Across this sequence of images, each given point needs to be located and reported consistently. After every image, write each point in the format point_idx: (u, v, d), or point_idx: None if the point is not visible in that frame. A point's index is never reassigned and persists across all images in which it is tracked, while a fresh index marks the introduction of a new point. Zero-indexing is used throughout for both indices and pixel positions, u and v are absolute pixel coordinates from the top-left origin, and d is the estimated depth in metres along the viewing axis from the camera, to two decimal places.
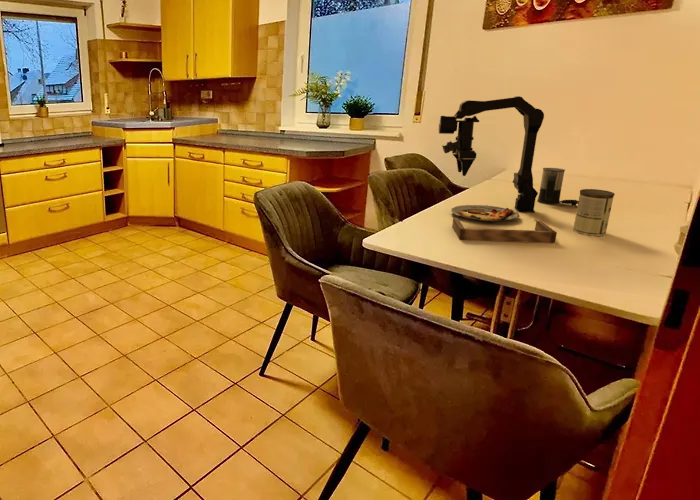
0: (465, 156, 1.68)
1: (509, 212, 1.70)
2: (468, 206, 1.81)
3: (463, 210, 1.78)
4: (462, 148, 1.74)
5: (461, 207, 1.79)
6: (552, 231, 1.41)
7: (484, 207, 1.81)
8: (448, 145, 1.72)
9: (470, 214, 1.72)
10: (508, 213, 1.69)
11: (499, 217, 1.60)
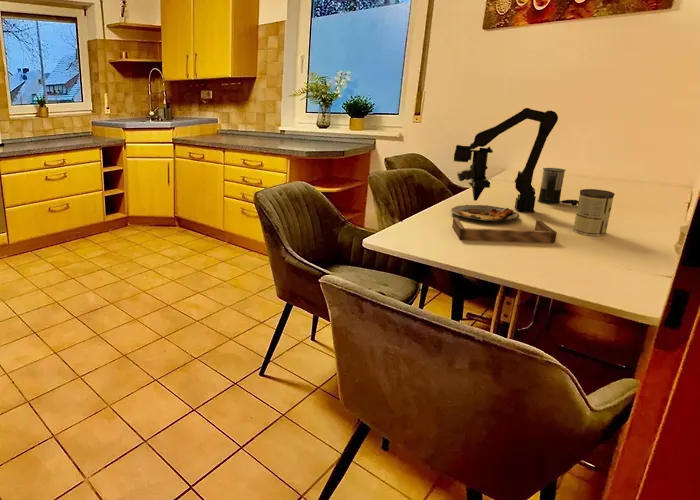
0: (479, 185, 1.76)
1: (509, 212, 1.70)
2: (468, 206, 1.81)
3: (463, 210, 1.78)
4: (476, 177, 1.82)
5: (461, 207, 1.79)
6: (552, 231, 1.41)
7: (484, 207, 1.81)
8: (463, 174, 1.80)
9: (470, 214, 1.71)
10: (508, 213, 1.69)
11: (499, 217, 1.60)
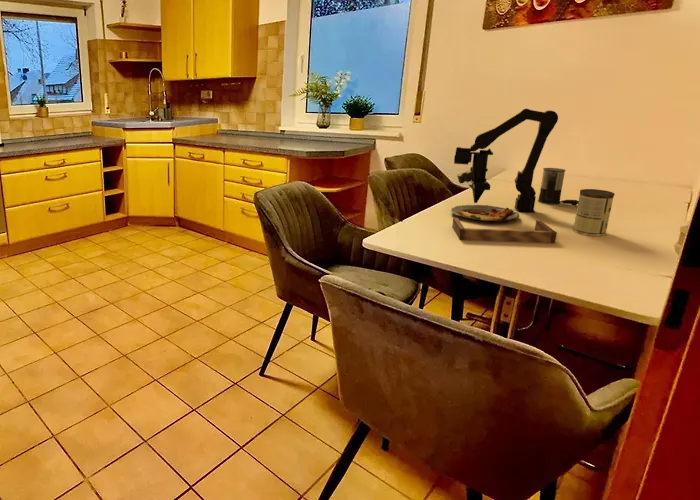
0: (479, 187, 1.76)
1: (509, 212, 1.70)
2: (468, 206, 1.81)
3: (463, 210, 1.78)
4: (476, 179, 1.81)
5: (461, 207, 1.79)
6: (552, 231, 1.41)
7: (484, 207, 1.81)
8: (463, 176, 1.79)
9: (470, 214, 1.71)
10: (508, 213, 1.69)
11: (499, 217, 1.60)
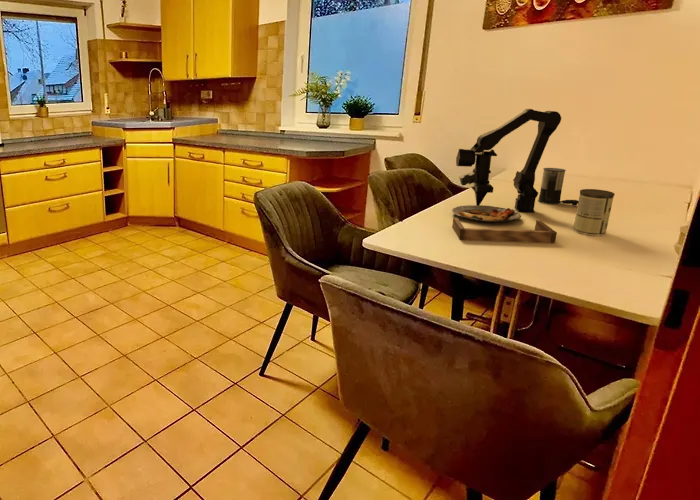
0: (482, 190, 1.71)
1: (510, 212, 1.69)
2: (469, 206, 1.80)
3: (464, 210, 1.76)
4: (479, 181, 1.76)
5: (462, 207, 1.78)
6: (552, 231, 1.41)
7: (485, 207, 1.80)
8: (465, 178, 1.75)
9: (471, 214, 1.70)
10: (509, 213, 1.68)
11: (501, 217, 1.59)
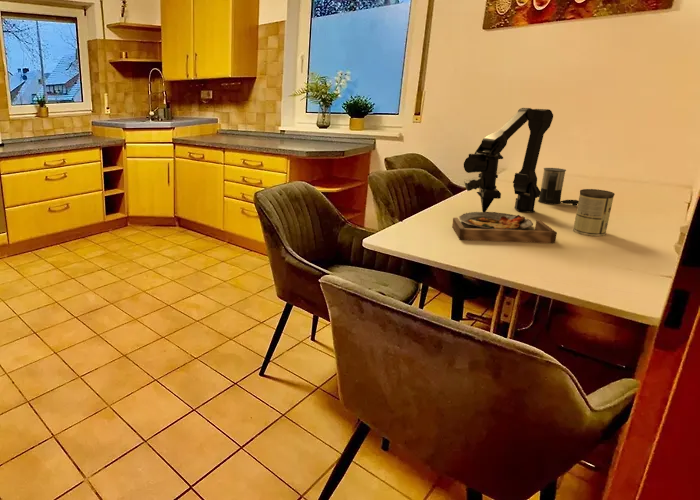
0: (489, 196, 1.61)
1: (521, 219, 1.59)
2: (475, 213, 1.70)
3: (471, 218, 1.66)
4: (485, 186, 1.66)
5: (468, 215, 1.67)
6: (552, 231, 1.41)
7: (491, 214, 1.70)
8: (471, 183, 1.64)
9: (480, 222, 1.60)
10: (520, 220, 1.59)
11: (514, 226, 1.49)
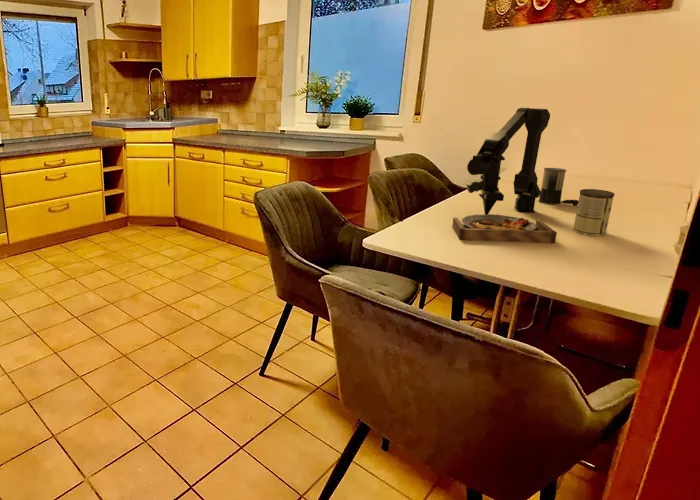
0: (492, 198, 1.57)
1: (525, 222, 1.56)
2: (477, 216, 1.66)
3: (473, 221, 1.62)
4: (488, 188, 1.63)
5: (470, 217, 1.64)
6: (552, 231, 1.41)
7: (494, 217, 1.67)
8: (473, 185, 1.61)
9: (483, 225, 1.56)
10: (524, 223, 1.56)
11: (518, 229, 1.46)
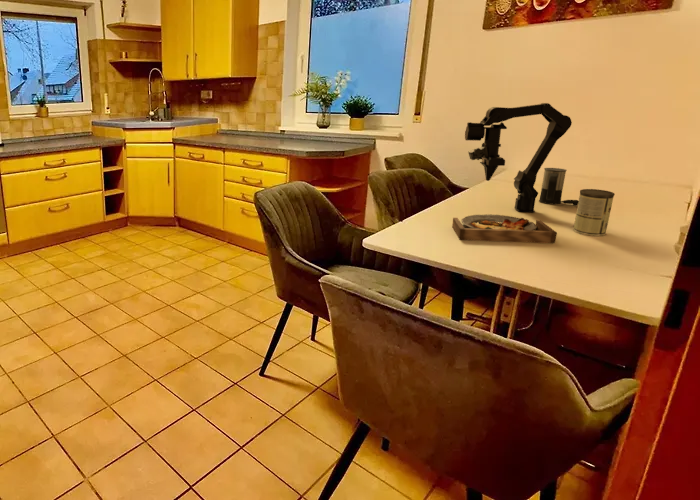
0: (494, 163, 1.67)
1: (525, 222, 1.56)
2: (477, 216, 1.66)
3: (473, 221, 1.62)
4: (489, 155, 1.73)
5: (470, 217, 1.64)
6: (552, 231, 1.41)
7: (494, 217, 1.67)
8: (476, 152, 1.71)
9: (483, 225, 1.56)
10: (524, 223, 1.56)
11: (518, 229, 1.46)
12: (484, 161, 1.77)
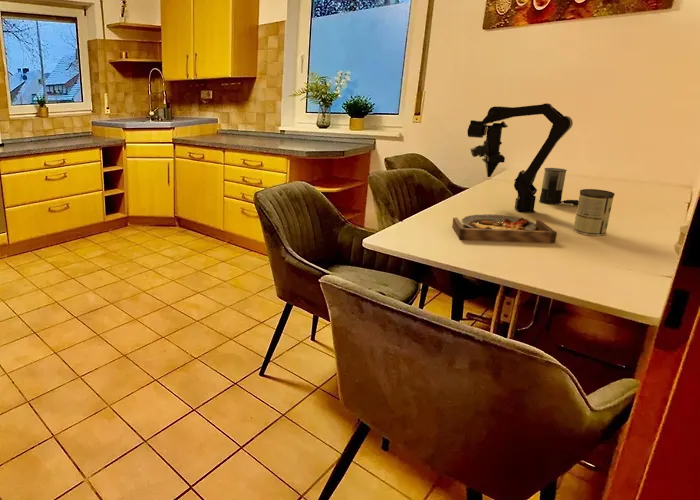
0: (494, 160, 1.75)
1: (525, 222, 1.56)
2: (477, 216, 1.66)
3: (473, 221, 1.62)
4: (490, 152, 1.80)
5: (470, 217, 1.64)
6: (552, 231, 1.41)
7: (494, 217, 1.67)
8: (477, 149, 1.79)
9: (483, 225, 1.56)
10: (524, 223, 1.55)
11: (518, 229, 1.46)
12: (486, 158, 1.85)
